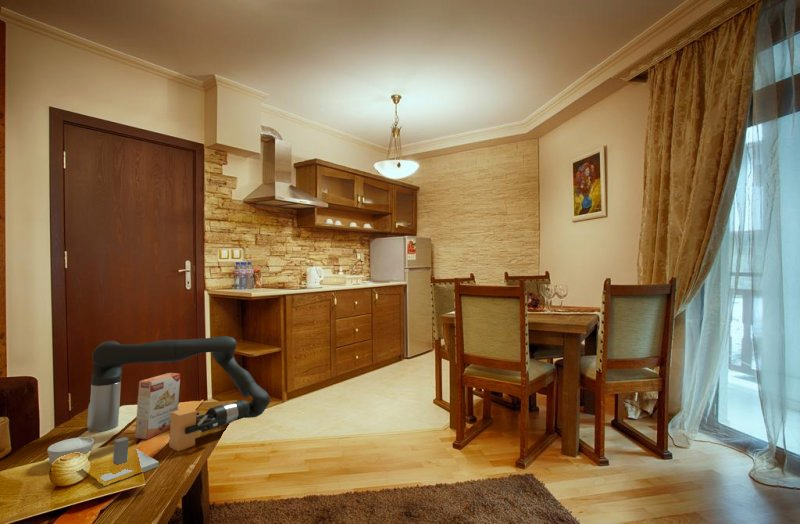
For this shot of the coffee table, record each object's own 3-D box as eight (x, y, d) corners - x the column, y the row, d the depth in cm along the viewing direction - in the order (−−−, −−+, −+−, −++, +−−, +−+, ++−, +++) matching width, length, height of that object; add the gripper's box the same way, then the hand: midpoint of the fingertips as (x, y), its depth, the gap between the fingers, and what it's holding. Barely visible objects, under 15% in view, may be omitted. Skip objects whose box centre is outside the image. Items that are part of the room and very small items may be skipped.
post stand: (80, 468, 114) (82, 440, 115) (132, 451, 126) (134, 425, 126) (104, 486, 104) (106, 455, 105) (158, 466, 116) (160, 439, 117)
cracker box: (148, 440, 135) (151, 382, 136) (134, 438, 136) (137, 380, 137) (178, 426, 148) (181, 373, 150) (165, 424, 150) (168, 371, 151)
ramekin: (101, 454, 123) (102, 438, 124) (65, 471, 112) (66, 453, 113) (75, 451, 126) (76, 435, 126) (36, 466, 115) (38, 449, 115)
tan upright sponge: (169, 446, 130) (171, 412, 131) (186, 441, 135) (187, 407, 135) (177, 451, 127) (179, 415, 127) (194, 445, 132) (196, 410, 132)
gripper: (212, 401, 148) (169, 413, 134) (233, 408, 140) (190, 421, 126) (211, 420, 147) (168, 434, 134) (233, 429, 140) (189, 444, 126)
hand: (178, 428), depth 130 cm, fingers open, 8 cm apart
